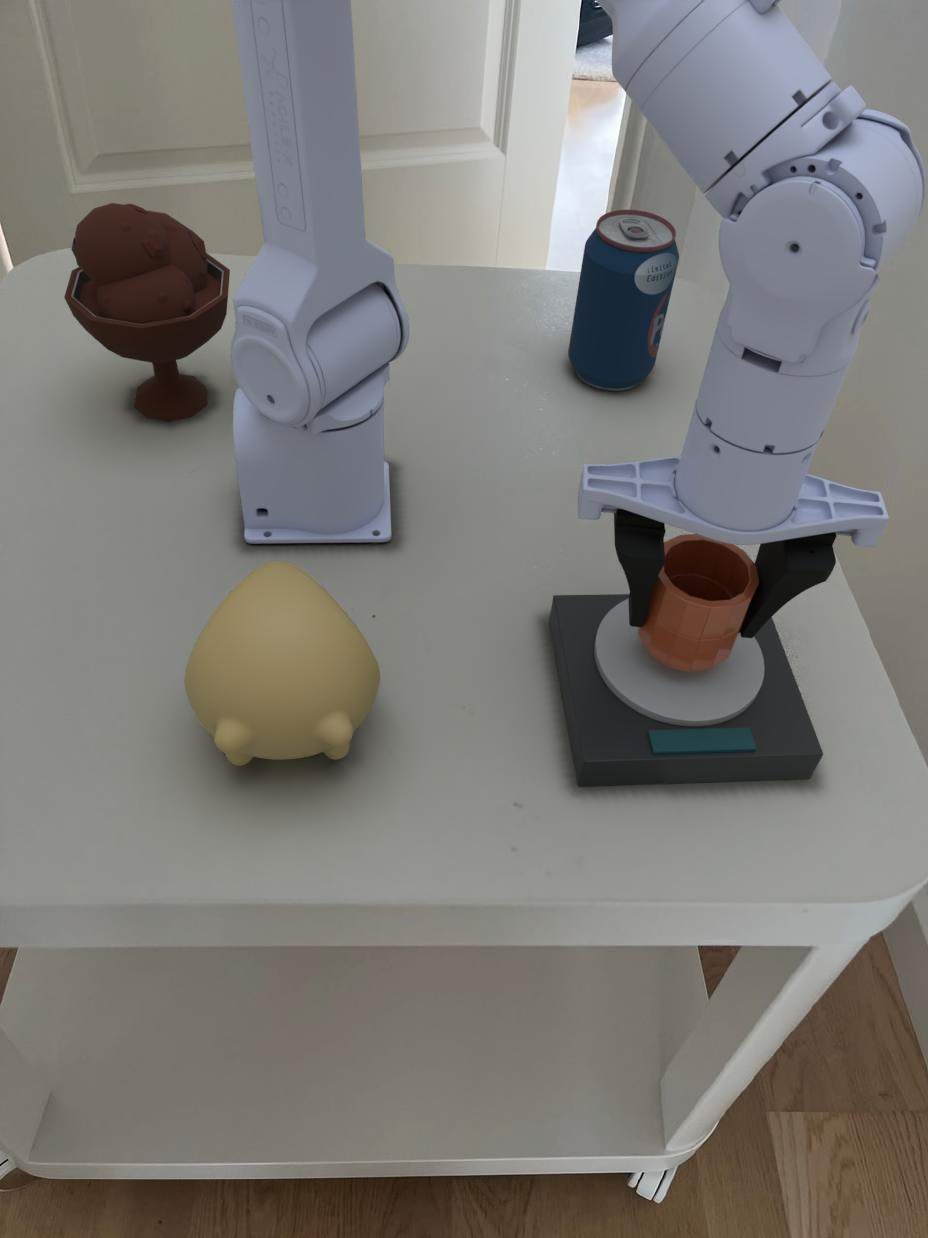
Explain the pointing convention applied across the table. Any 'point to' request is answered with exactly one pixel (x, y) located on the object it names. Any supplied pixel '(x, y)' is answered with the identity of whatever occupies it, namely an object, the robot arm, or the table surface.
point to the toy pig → (281, 670)
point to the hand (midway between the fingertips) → (691, 619)
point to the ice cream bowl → (148, 299)
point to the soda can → (622, 298)
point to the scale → (674, 705)
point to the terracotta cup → (698, 603)
